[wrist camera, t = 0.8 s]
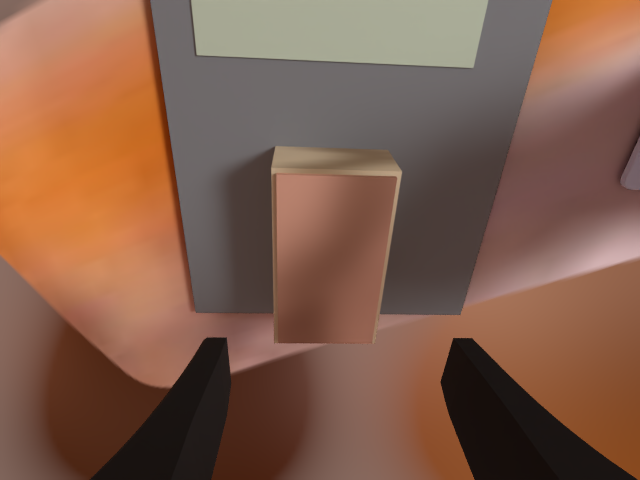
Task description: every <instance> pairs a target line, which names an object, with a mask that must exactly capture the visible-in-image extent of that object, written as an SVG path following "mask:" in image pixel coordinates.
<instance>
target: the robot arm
mask: <svg viewBox="0 0 640 480" xmlns="http://www.w3.org/2000/svg"><path fill="white" fill-rule="evenodd" d="M620 182H621V185H622V186H623V187H625V188H627V189H630V190H640V137H639V139H638V141H637V144H636V146H635V148H634V150H633V152H632V155H631V157H630V159H629V161H628V163H627V166H626V168H625V170H624V172H623V174H622V177H621V180H620ZM441 386H442V390H443V394H444V398H445V402H446V406H447V409H448V412H449V416H450V418H451V421H452V423H453V426H454V428H455V431H456V434H457V436H458V439H459V442H460V444H461V447H462V449H463V452H464V454H465V457H466V459H467V462H468V464H469V466H470V469H471V472H472V474H473V477H474V479H475V480H637V479H636V478H635V477H633V476H632V475H630V474H629V473H627V472H626V471H624V470H623V469H622V468H620V467H618V466H617V465H616V464H614V463H613V462H611V461H610V460H609V459H607V458H606V457H604V456H603V455H602V454H600V453H599V452H598V451H596V450H595V449H594V448H592V447H591V446H590V445H588V444H587V443H586V442H585V441H583V440H582V439H581V438H579V437H578V436H577V435H576V434H574V433H573V432H572V431H570V430H569V429H568V428H567V427H566V426H564V425H563V424H562V423H561V422H560V421H558V420H557V419H556V418H555V417H554V416H552V414H550V413H549V412H548V411H547V410H546V409H545V408H544V407H542V406H541V405H540V404H539V403H538V402H537V401H536V400H534V399H533V398H532V397H531V396H530V395H529V394H528V393H527V392H526V391H525V390H524V389H523V388H522V387H521V386H519V385H518V384H517V383H516V382H515V381H514V380H513V379H512V378H511V377H510V376H509V375H508V374H507V373H506V372H505V371H504V370H503V369H502V368H501V367H500V366H499V365H498V364H497V363H496V362H495V361H494V360H493V359H492V358H491V357H490V356H489V355H488V354H487V353H486V352H485V351H484V350H483V349H482V348H481V347H480V346H479V345H478V344H477V343H476V342H475V341H474V340H473V339H472V338H453V341H452V345H451V348H450V352H449V355H448V358H447V362H446V365H445V369H444V372H443V376H442V379H441ZM230 388H231V376H230V366H229V356H228V346H227V338H206V339H205V340H203V342H202V344H201V345H200V347H199V349H198V350H197V352H196V353H195V355H194V357H193V358H192V360H191V361H190V363H189V364H188V366H187V367H186V369H185V370H184V372H183V373H182V374H181V376H180V377H179V379H178V380H177V381H176V383H175V384H174V385H173V387H172V388H171V389H170V391H169V392H168V394H167V395H166V396H165V397H164V399H163V400H162V401H161V402H160V404H159V405H158V406H157V408H156V409H155V410H154V411H153V412H152V414H151V415H150V416H149V417H148V418H147V420H146V421H145V422H144V423H143V424H142V426H141V427H140V428H139V429H138V430H137V431H136V433H135V434H134V435H133V436H132V437H131V438H130V439H129V440H128V441H127V442H126V443H125V444H124V446H123V447H122V448H121V449H120V450H119V451H118V452H117V453H116V454H115V455H114V456H113V457H112V458H111V459H110V460H109V461H108V462H107V463H106V464H105V465H104V466H103V467H102V468H101V469H100V470H99V471H98V472H97V473H96V474H95V475H94V476H93V477H92V478H91V479H90V480H211V478H212V474H213V470H214V466H215V462H216V458H217V454H218V449H219V445H220V441H221V437H222V433H223V429H224V425H225V421H226V416H227V410H228V403H229V396H230Z"/></svg>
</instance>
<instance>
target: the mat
mask: <svg viewBox="0 0 640 480" xmlns="http://www.w3.org/2000/svg"><path fill="white" fill-rule="evenodd" d="M150 2H151V9H152V16H153V23H154V29H155V36H156V43H157V50H158V57H159V64H160V71H161V77H162V84H163V91H164V98H165V105H166V112H167V119H168V126H169V132H170V139H171V146H172V153H173V160H174V167H175V174H176V180H177V187H178V194H179V201H180V208H181V215H182V222H183V229H184V235H185V242H186V249H187V256H188V263H189V270H190V277H191V284H192V290H193V297H194V304H195V311H196V313H274V299H273V240H272V181H271V166H272V161H273V156H274V151H275V146H287V147H317V148H347V149H377V150H388V151H389V152H390V154H391V155H392V157H393V158H394V160H395V161H396V163H397V164H398V166H399V168H400V169H401V171H402V175H401V182H400V188H399V194H398V200H397V207H396V213H395V219H394V226H393V232H392V238H391V245H390V251H389V257H388V264H387V270H386V276H385V283H384V289H383V295H382V302H381V308H380V314H418V315H460V314H461V311H462V308H463V304H464V301H465V297H466V294H467V290H468V287H469V284H470V280H471V277H472V273H473V270H474V266H475V263H476V260H477V256H478V253H479V249H480V246H481V243H482V239H483V236H484V232H485V229H486V225H487V222H488V219H489V215H490V212H491V208H492V205H493V201H494V198H495V195H496V191H497V188H498V184H499V181H500V178H501V174H502V171H503V167H504V164H505V160H506V157H507V154H508V150H509V147H510V143H511V140H512V136H513V133H514V130H515V126H516V123H517V119H518V116H519V113H520V109H521V106H522V102H523V99H524V95H525V92H526V89H527V85H528V82H529V78H530V75H531V72H532V68H533V65H534V61H535V58H536V54H537V51H538V48H539V44H540V41H541V37H542V34H543V30H544V27H545V24H546V20H547V17H548V13H549V10H550V7H551V3H552V0H150Z"/></svg>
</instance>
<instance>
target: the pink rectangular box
mask: <svg viewBox="0 0 640 480" xmlns="http://www.w3.org/2000/svg"><path fill="white" fill-rule="evenodd" d="M401 175H402V171H401V169H400V168H399V166H398V164H397V163H396V161H395V160H394V158H393V157H392V155H391V154H390V152H389V151H388V150H377V149H347V148H317V147H287V146H275V151H274V156H273V161H272V166H271V181H272V240H273V299H274V343H367V344H369V343H371V344H373V343H375V340H376V333H377V327H378V321H379V314H380V308H381V302H382V295H383V289H384V283H385V276H386V270H387V264H388V257H389V251H390V245H391V238H392V232H393V226H394V219H395V213H396V207H397V200H398V194H399V188H400V182H401Z"/></svg>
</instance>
